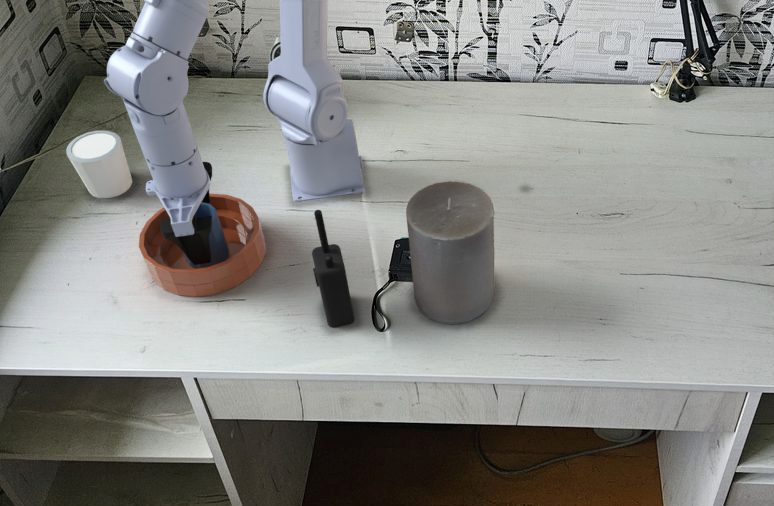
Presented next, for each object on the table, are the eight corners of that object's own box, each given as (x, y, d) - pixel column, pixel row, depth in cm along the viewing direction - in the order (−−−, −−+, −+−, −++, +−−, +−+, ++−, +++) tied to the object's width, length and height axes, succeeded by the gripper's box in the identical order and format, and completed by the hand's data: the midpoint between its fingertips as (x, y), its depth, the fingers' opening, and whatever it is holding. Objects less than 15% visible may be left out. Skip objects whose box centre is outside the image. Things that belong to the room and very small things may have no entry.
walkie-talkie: (356, 325, 101) (337, 229, 90) (327, 331, 100) (305, 236, 89) (349, 296, 104) (330, 200, 93) (321, 302, 103) (299, 206, 92)
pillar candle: (418, 266, 107) (408, 170, 96) (497, 268, 107) (496, 171, 96) (410, 324, 101) (398, 229, 90) (493, 326, 101) (492, 231, 90)
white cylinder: (122, 207, 115) (104, 164, 110) (75, 200, 116) (55, 158, 111) (146, 174, 119) (130, 132, 114) (101, 168, 120) (82, 126, 115)
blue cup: (228, 238, 110) (215, 199, 105) (229, 266, 107) (215, 226, 102) (187, 244, 109) (172, 205, 105) (186, 272, 106) (171, 233, 101)
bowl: (264, 213, 114) (257, 186, 111) (268, 289, 105) (260, 262, 102) (153, 229, 112) (142, 202, 109) (147, 307, 103) (135, 281, 100)
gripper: (137, 117, 100) (170, 207, 110) (129, 196, 91) (166, 287, 101) (199, 109, 101) (227, 199, 111) (198, 187, 92) (228, 277, 102)
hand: (202, 240), depth 106 cm, fingers open, 7 cm apart
